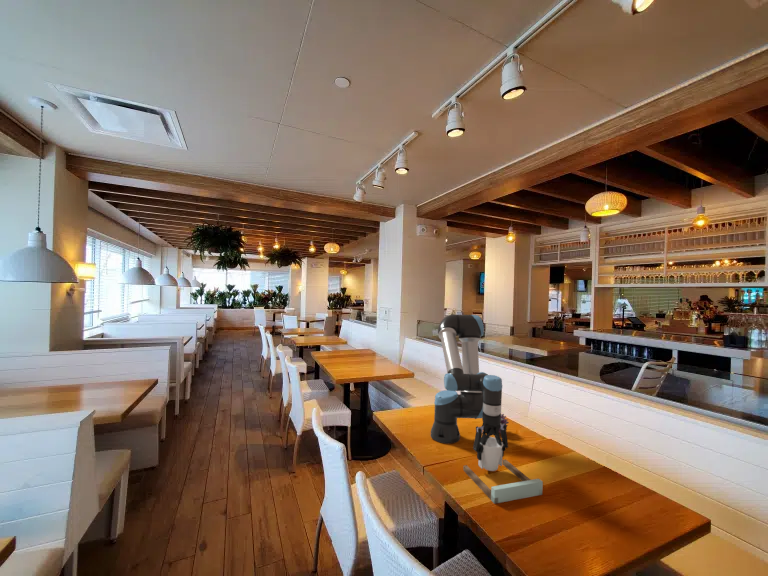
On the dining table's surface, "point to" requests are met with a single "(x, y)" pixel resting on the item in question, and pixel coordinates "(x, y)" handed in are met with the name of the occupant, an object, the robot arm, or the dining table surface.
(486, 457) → the cup
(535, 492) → the block
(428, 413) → the dining table surface
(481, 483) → the channel
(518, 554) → the dining table surface
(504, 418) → the flower
